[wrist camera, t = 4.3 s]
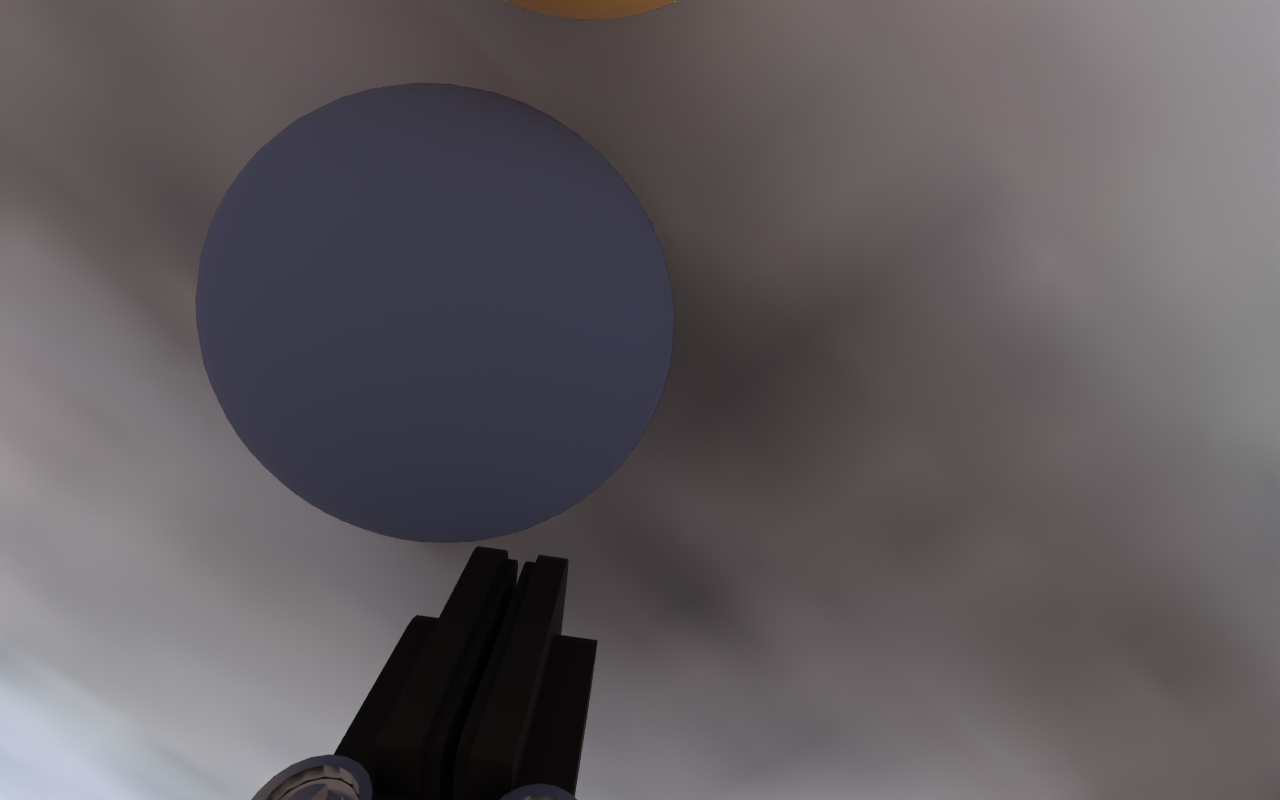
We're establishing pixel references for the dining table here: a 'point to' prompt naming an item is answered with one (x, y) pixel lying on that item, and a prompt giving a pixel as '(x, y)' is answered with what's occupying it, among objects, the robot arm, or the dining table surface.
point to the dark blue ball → (435, 312)
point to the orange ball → (590, 7)
